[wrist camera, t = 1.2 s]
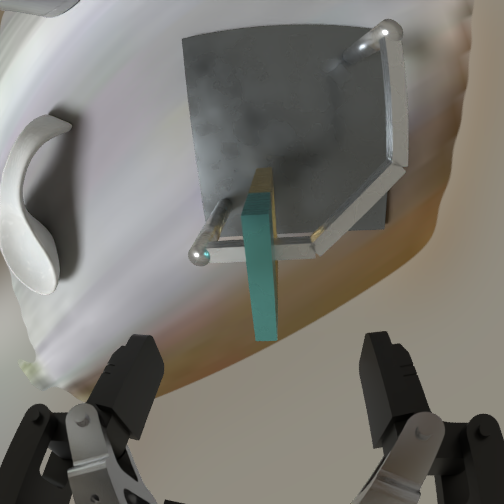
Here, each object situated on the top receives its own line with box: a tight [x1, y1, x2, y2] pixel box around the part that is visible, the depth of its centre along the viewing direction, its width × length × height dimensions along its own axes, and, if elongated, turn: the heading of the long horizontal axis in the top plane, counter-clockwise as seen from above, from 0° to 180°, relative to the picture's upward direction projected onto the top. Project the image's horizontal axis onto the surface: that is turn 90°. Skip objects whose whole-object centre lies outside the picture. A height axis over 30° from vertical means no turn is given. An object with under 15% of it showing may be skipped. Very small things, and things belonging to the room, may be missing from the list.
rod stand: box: [182, 19, 408, 266], centre depth 19 cm, size 19×17×10 cm
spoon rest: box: [0, 115, 72, 295], centre depth 26 cm, size 24×12×7 cm, turn 154°
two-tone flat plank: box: [241, 167, 278, 341], centre depth 19 cm, size 7×1×11 cm, turn 5°
